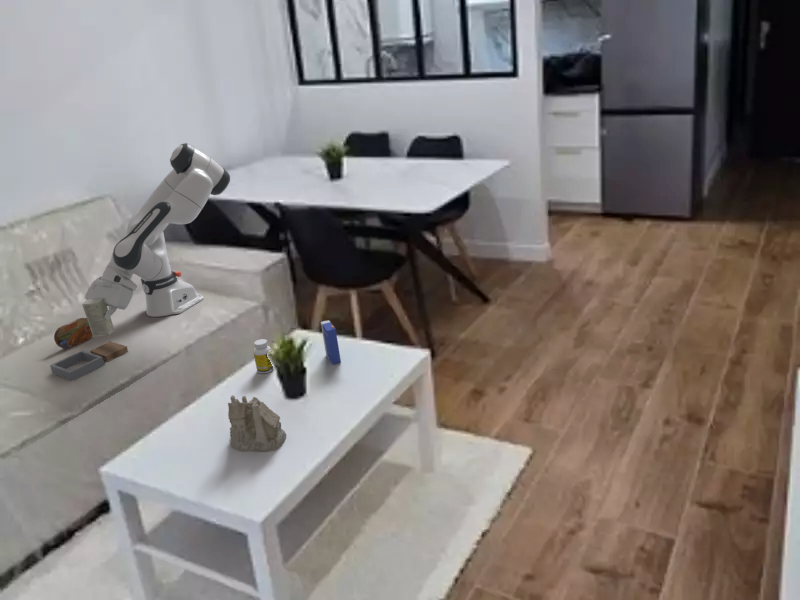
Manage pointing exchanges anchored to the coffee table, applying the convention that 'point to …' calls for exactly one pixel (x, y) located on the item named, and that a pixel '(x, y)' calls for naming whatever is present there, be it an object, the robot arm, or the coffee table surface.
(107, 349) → the riser
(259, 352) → the supplement bottle
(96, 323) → the skincare box
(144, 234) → the robot arm
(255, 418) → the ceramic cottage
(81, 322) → the tin
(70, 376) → the bin
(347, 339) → the coffee table surface
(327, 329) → the walkman
